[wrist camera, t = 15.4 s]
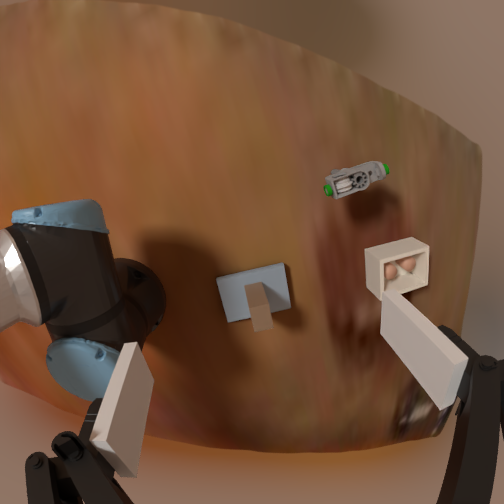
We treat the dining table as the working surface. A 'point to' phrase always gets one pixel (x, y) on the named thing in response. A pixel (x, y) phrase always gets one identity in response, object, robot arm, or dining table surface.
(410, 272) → the box
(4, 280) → the robot arm
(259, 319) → the lid
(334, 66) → the dining table surface
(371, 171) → the mechanical component
